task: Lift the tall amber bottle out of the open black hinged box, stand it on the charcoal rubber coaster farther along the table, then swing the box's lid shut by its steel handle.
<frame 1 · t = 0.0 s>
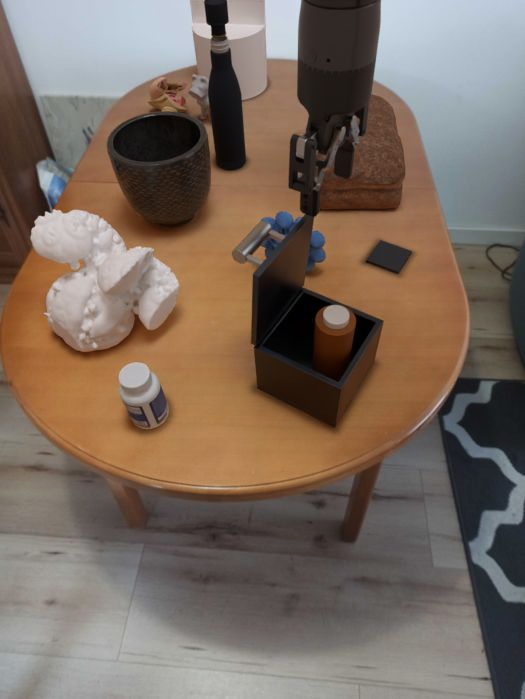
hand: (326, 193, 61), 24 cm above the table, tool pointing down, fingers open, 8 cm apart
bread: (352, 169, 105), on the table
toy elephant: (169, 113, 122), on the table
lid: (264, 272, 63), point 17 cm above the table, hinge at 85.0°
black hinged box: (316, 375, 74), on the table
planter: (173, 214, 99), on the table
grapes: (290, 274, 87), on the table
cylinder: (233, 85, 129), on the table
pill bottle: (150, 414, 71), on the table
black water bottle: (231, 162, 108), on the table
amber bottle: (328, 378, 73), point 1 cm above the table, touching black hinged box
dog figurine: (215, 116, 120), on the table
white lumpy sculpture: (122, 315, 83), on the table
coaster: (388, 257, 89), on the table
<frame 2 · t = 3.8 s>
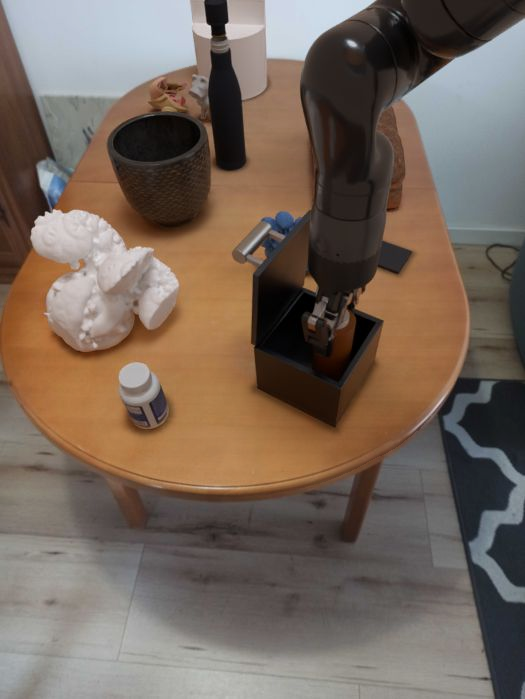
hand: (333, 337, 65), 10 cm above the table, tool pointing down, fingers closed on amber bottle, 5 cm apart
amber bottle: (328, 378, 73), point 1 cm above the table, touching gripper, black hinged box
everything else where it was.
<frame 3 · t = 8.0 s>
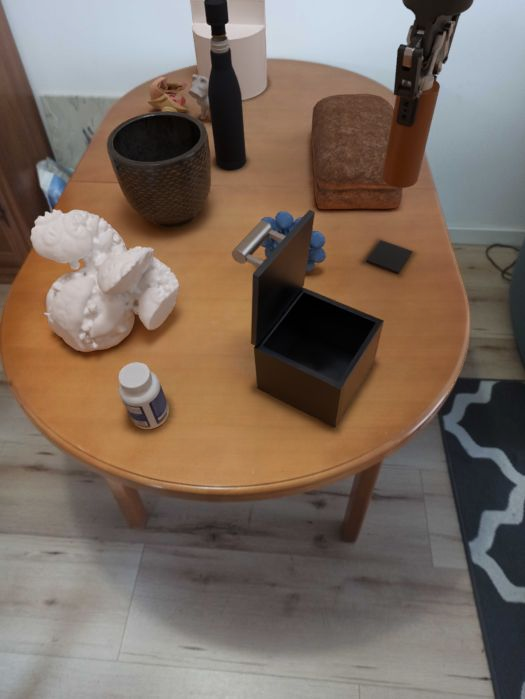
hand: (413, 113, 65), 28 cm above the table, tool pointing down, fingers closed on amber bottle, 5 cm apart
amber bottle: (399, 177, 72), point 18 cm above the table, touching gripper
everything else where it was.
when the fingers open (10 cm above the table, at t = 12.5 s): amber bottle stays where it is, resting on coaster.
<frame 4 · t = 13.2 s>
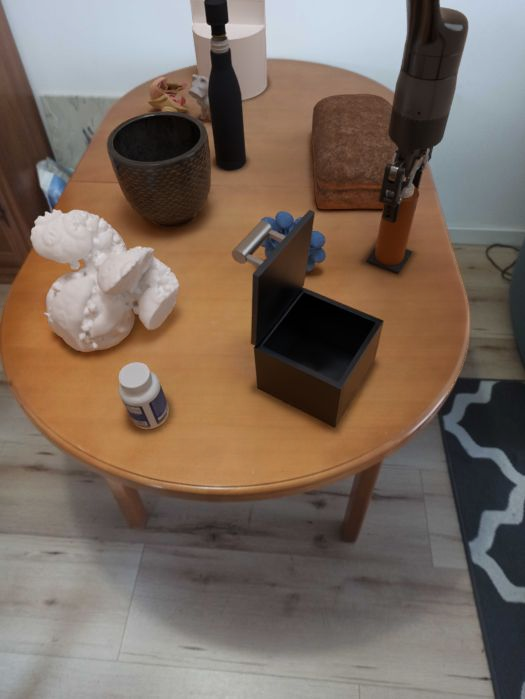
hand: (400, 205, 80), 11 cm above the table, tool pointing down, fingers open, 8 cm apart
amber bottle: (389, 255, 88), resting on coaster
everything else where it was.
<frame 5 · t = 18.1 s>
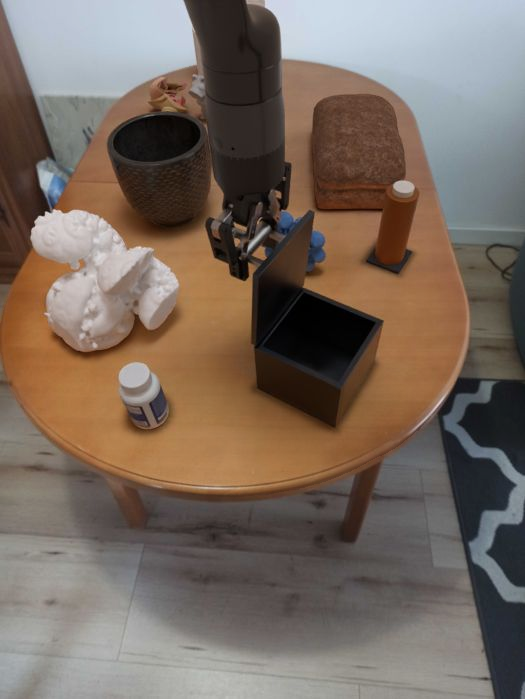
hand: (255, 260, 63), 18 cm above the table, tool pointing down, fingers closed on lid, 6 cm apart
lid: (264, 272, 63), point 17 cm above the table, hinge at 85.0°, touching gripper
everything else where it was.
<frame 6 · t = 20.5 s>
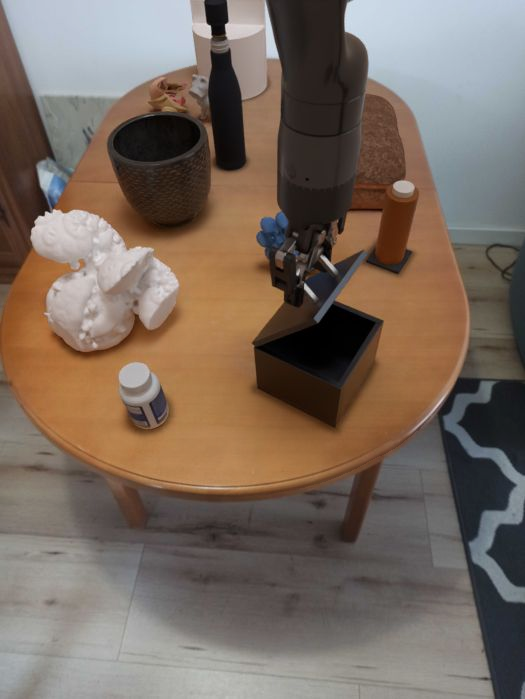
hand: (307, 285, 61), 18 cm above the table, tool pointing down, fingers closed on lid, 6 cm apart
lid: (294, 285, 62), point 17 cm above the table, hinge at 48.9°, touching gripper
everything else where it was.
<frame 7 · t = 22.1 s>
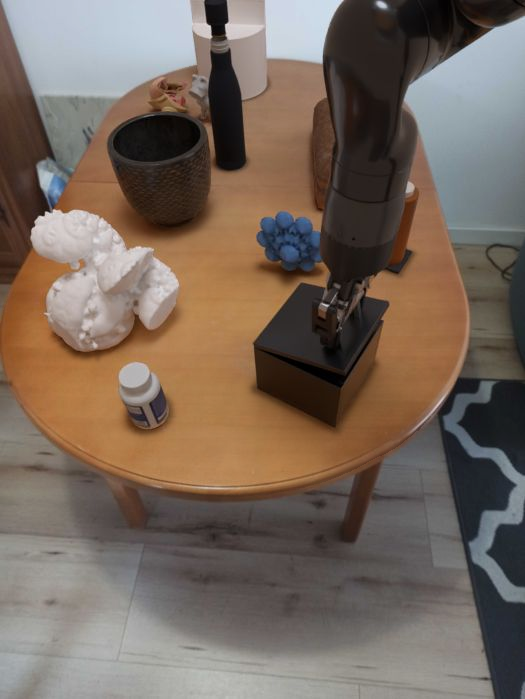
hand: (341, 326, 63), 13 cm above the table, tool pointing down, fingers closed on lid, 6 cm apart
lid: (318, 310, 63), point 14 cm above the table, hinge at 13.1°, touching gripper
everything else where it was.
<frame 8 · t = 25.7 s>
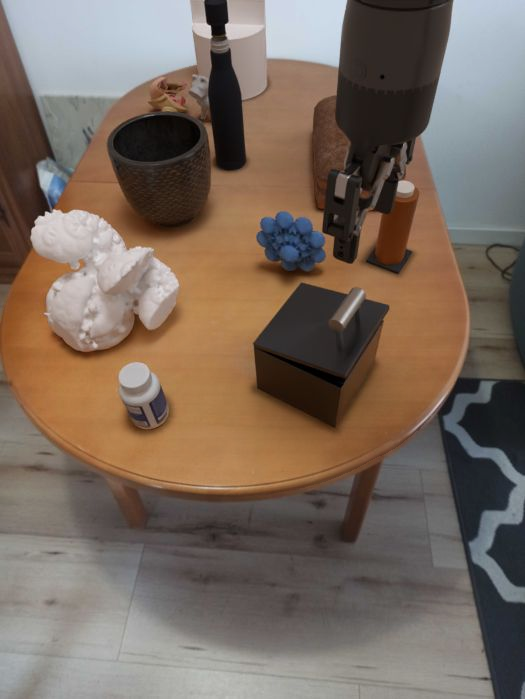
hand: (363, 233, 50), 28 cm above the table, tool pointing down, fingers open, 8 cm apart
lid: (319, 312, 63), point 14 cm above the table, hinge at 10.4°
everything else where it was.
at the end: amber bottle 0.1 cm off-centre on the coaster, point 0.5 cm above the coaster's base; amber bottle tilted 0°; lid at +10° (first picture: +85°) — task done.
